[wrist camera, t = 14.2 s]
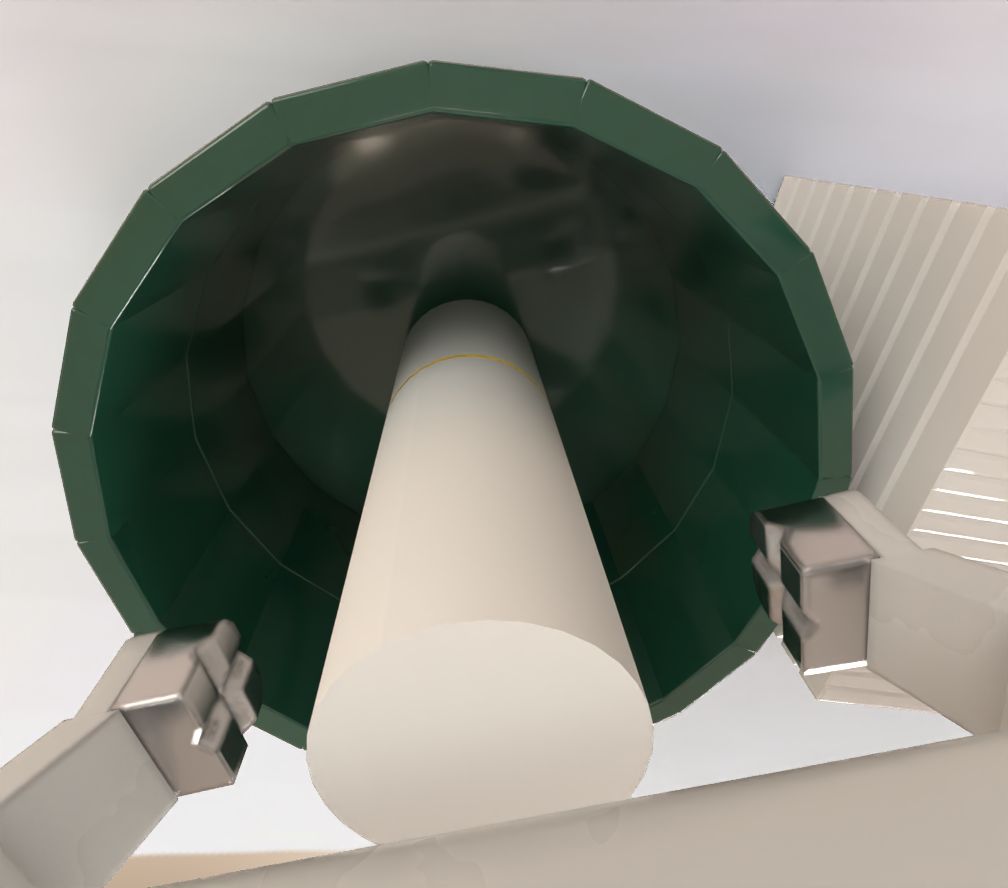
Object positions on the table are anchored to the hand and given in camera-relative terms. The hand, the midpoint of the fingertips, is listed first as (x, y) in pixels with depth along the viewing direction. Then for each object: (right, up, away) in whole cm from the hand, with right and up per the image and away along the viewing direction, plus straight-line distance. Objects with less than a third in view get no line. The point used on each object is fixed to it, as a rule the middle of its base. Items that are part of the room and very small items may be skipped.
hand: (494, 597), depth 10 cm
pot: (-1, +5, +12) cm, 13 cm away
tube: (-1, +5, +12) cm, 13 cm away
